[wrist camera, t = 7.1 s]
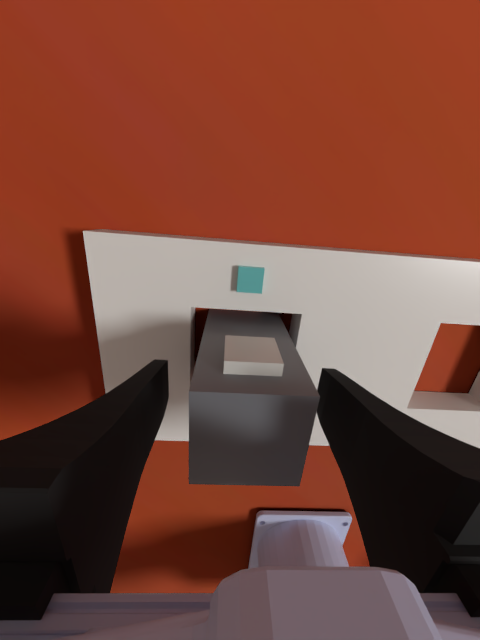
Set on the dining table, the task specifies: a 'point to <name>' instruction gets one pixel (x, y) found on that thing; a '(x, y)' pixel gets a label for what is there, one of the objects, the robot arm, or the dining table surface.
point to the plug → (249, 403)
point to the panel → (285, 297)
